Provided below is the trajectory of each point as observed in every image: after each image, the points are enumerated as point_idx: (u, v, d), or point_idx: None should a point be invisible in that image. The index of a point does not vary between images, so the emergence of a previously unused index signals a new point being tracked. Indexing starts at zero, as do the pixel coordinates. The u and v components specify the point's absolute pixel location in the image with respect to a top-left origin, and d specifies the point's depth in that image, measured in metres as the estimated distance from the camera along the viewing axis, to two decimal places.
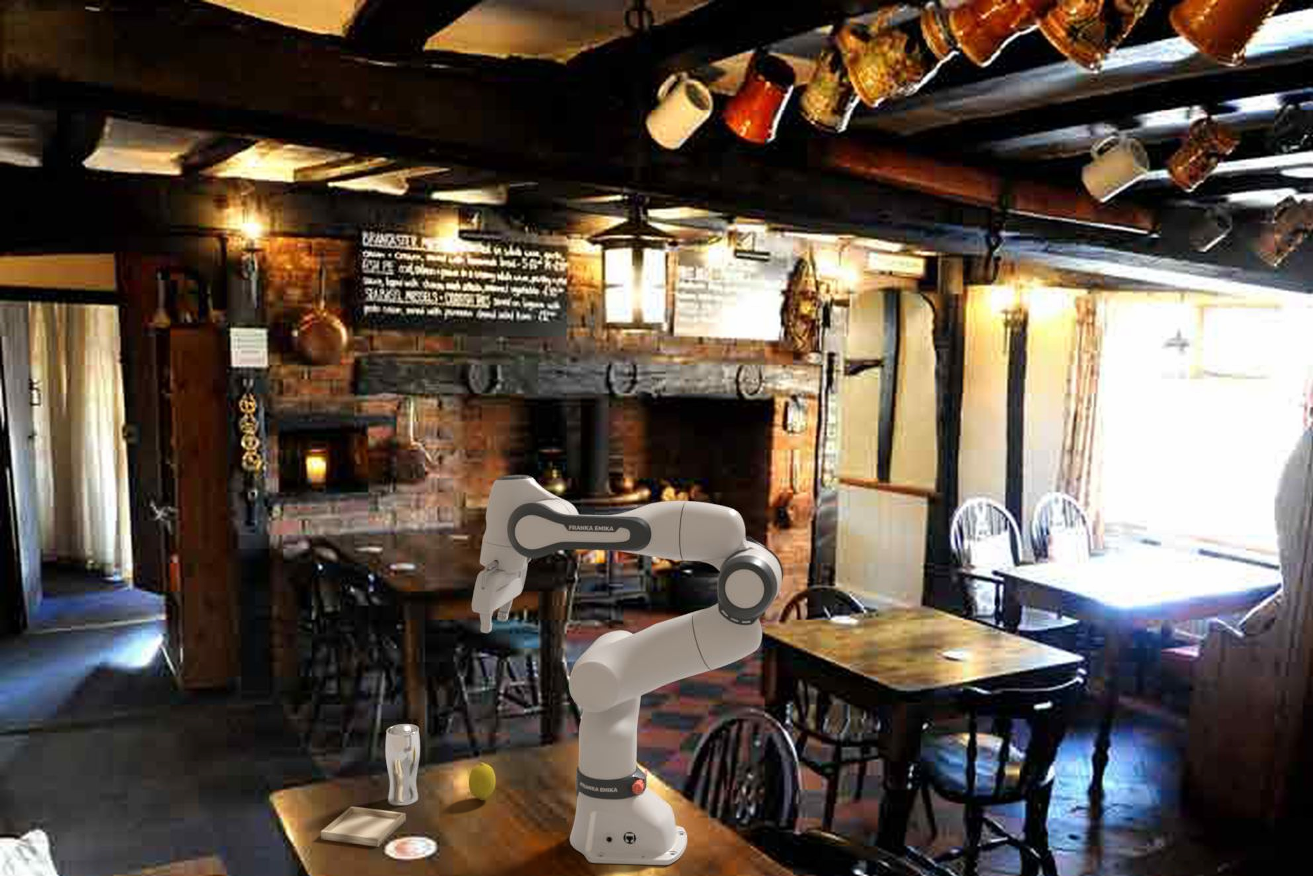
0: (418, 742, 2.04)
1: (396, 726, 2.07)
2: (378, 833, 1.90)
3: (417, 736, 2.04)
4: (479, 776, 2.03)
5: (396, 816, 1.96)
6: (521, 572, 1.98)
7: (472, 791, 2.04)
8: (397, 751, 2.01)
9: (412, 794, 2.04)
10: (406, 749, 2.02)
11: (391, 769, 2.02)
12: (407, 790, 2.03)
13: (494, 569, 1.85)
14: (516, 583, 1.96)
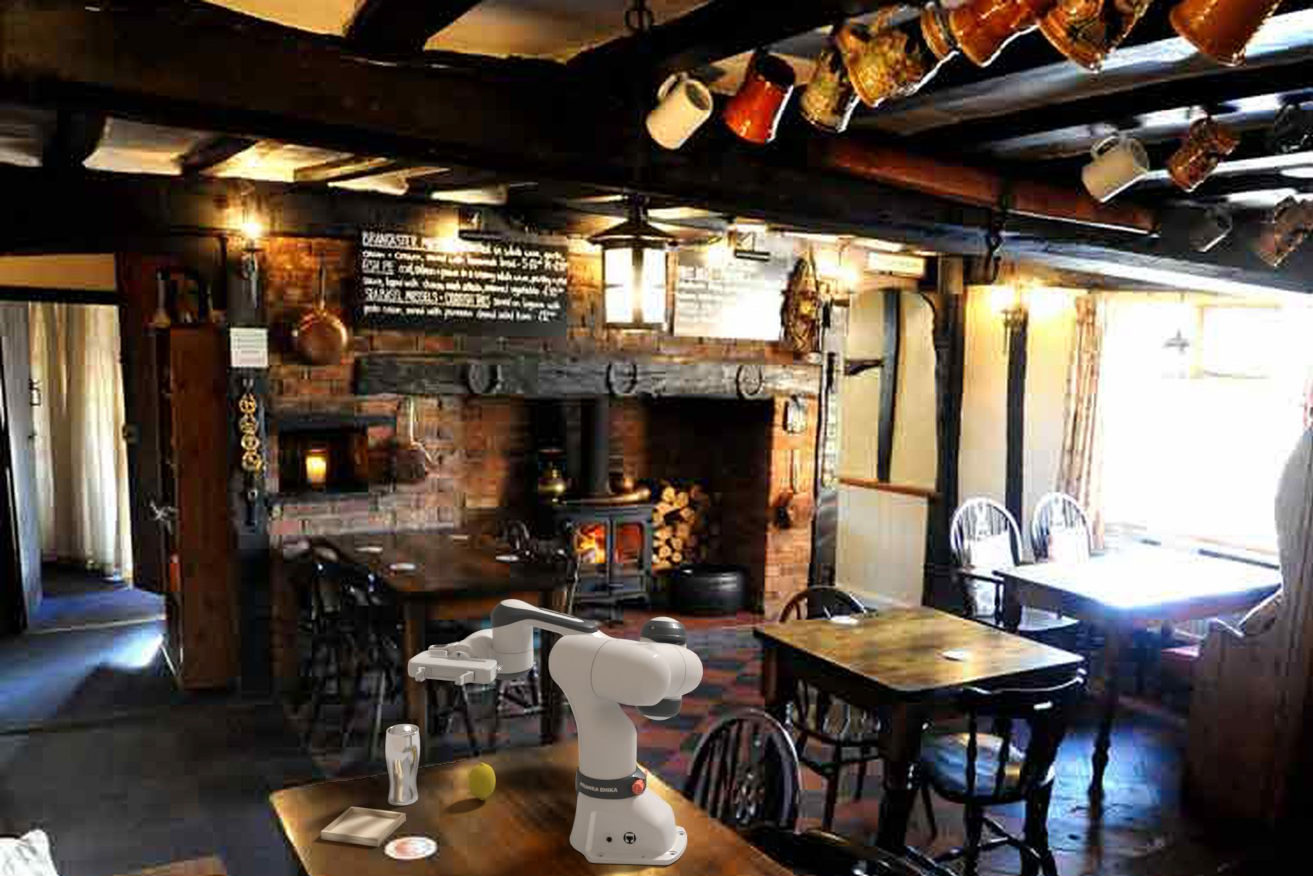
0: (418, 742, 2.04)
1: (396, 726, 2.07)
2: (378, 833, 1.90)
3: (417, 736, 2.04)
4: (479, 776, 2.03)
5: (396, 816, 1.96)
6: None
7: (472, 791, 2.04)
8: (397, 751, 2.01)
9: (412, 794, 2.04)
10: (406, 749, 2.02)
11: (391, 769, 2.02)
12: (407, 790, 2.03)
13: None
14: None
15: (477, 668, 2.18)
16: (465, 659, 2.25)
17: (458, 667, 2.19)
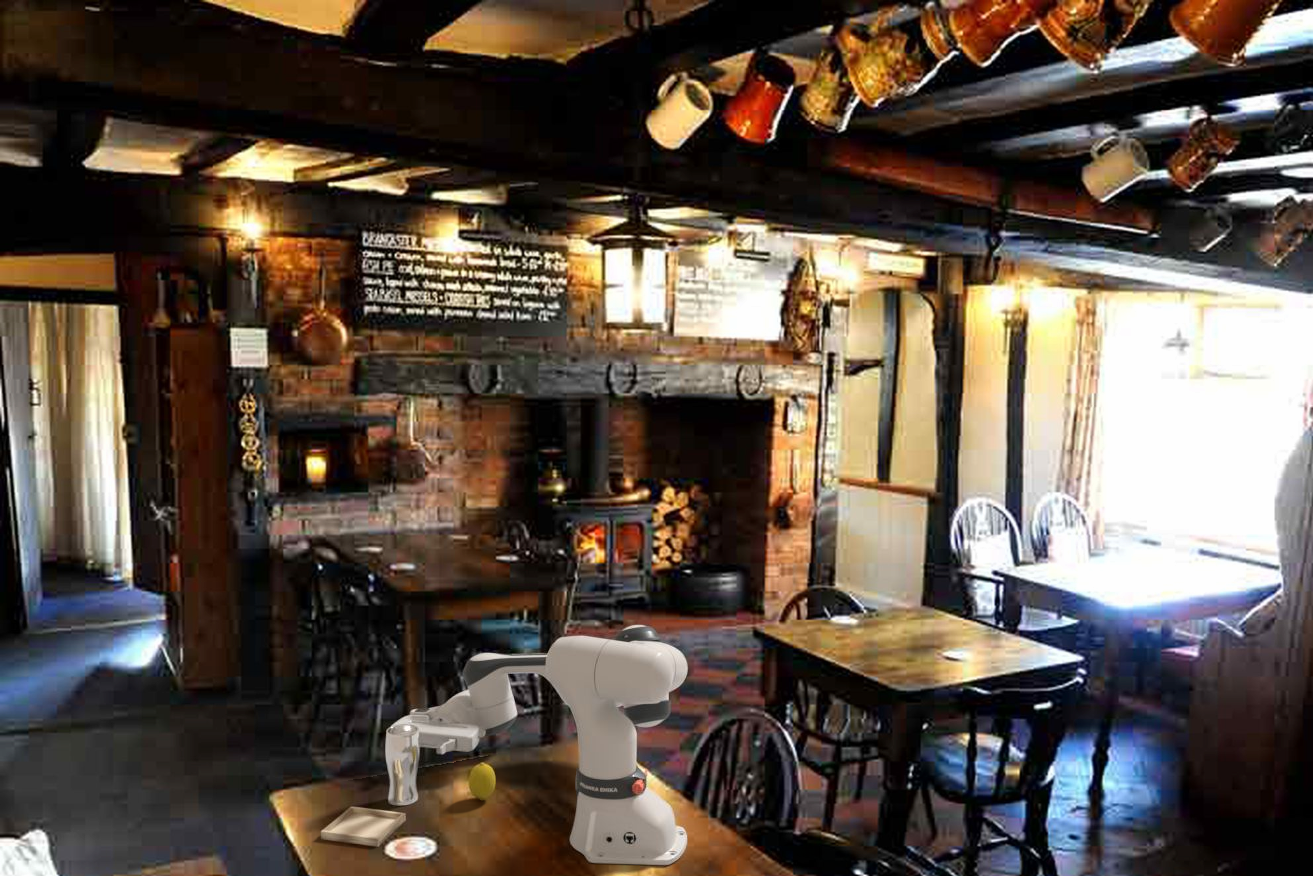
0: (418, 742, 2.04)
1: (396, 726, 2.07)
2: (378, 833, 1.90)
3: (417, 736, 2.04)
4: (479, 776, 2.03)
5: (396, 816, 1.96)
6: None
7: (472, 791, 2.04)
8: (397, 751, 2.01)
9: (412, 794, 2.04)
10: (406, 749, 2.02)
11: (391, 769, 2.02)
12: (407, 790, 2.03)
13: None
14: None
15: (459, 736, 2.16)
16: (447, 725, 2.22)
17: (439, 735, 2.17)
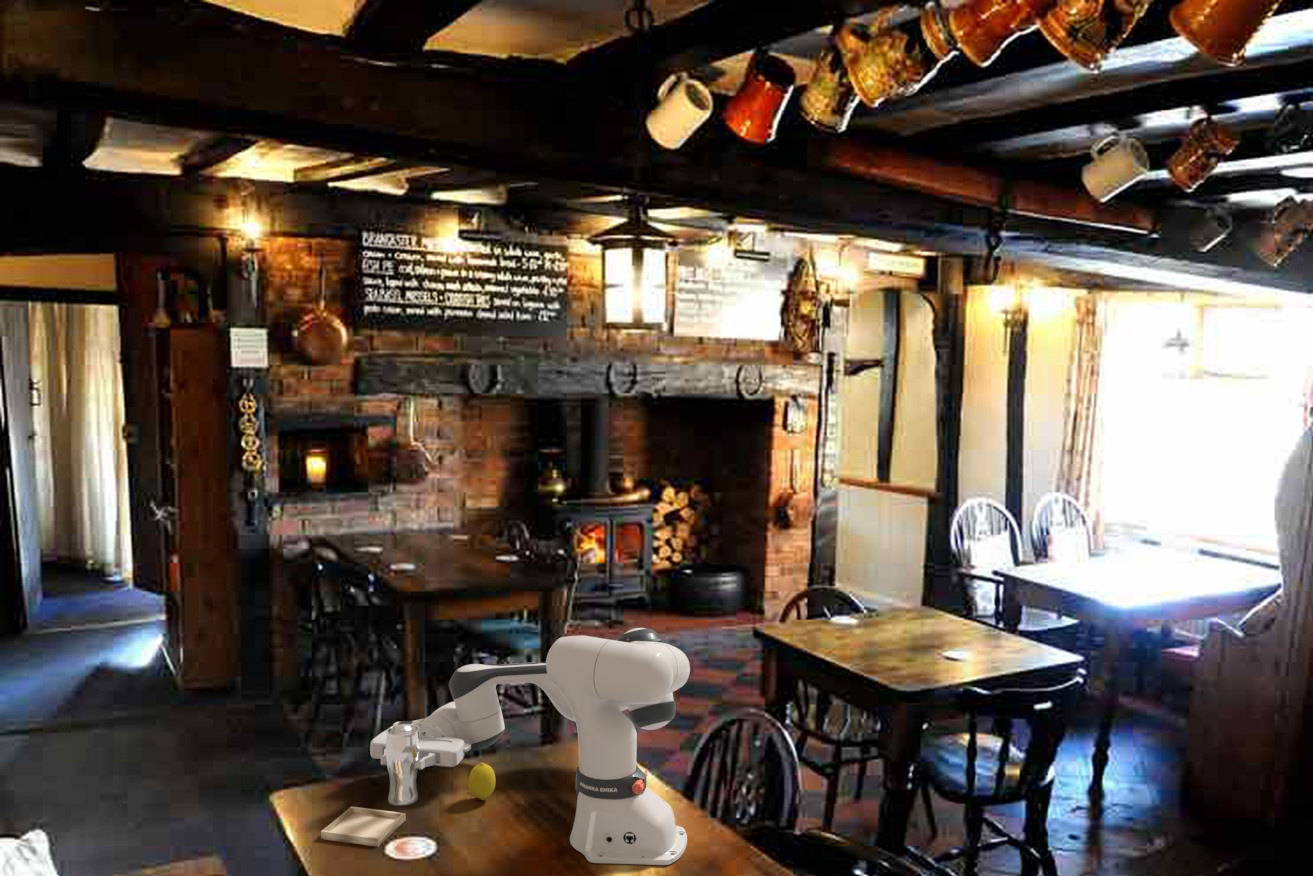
0: (418, 742, 2.04)
1: (396, 726, 2.07)
2: (378, 833, 1.90)
3: (417, 736, 2.04)
4: (479, 776, 2.03)
5: (396, 816, 1.96)
6: None
7: (472, 791, 2.04)
8: (397, 751, 2.01)
9: (412, 794, 2.04)
10: (406, 749, 2.02)
11: (391, 769, 2.02)
12: (407, 790, 2.03)
13: None
14: None
15: (442, 750, 2.07)
16: (431, 738, 2.13)
17: (422, 749, 2.08)
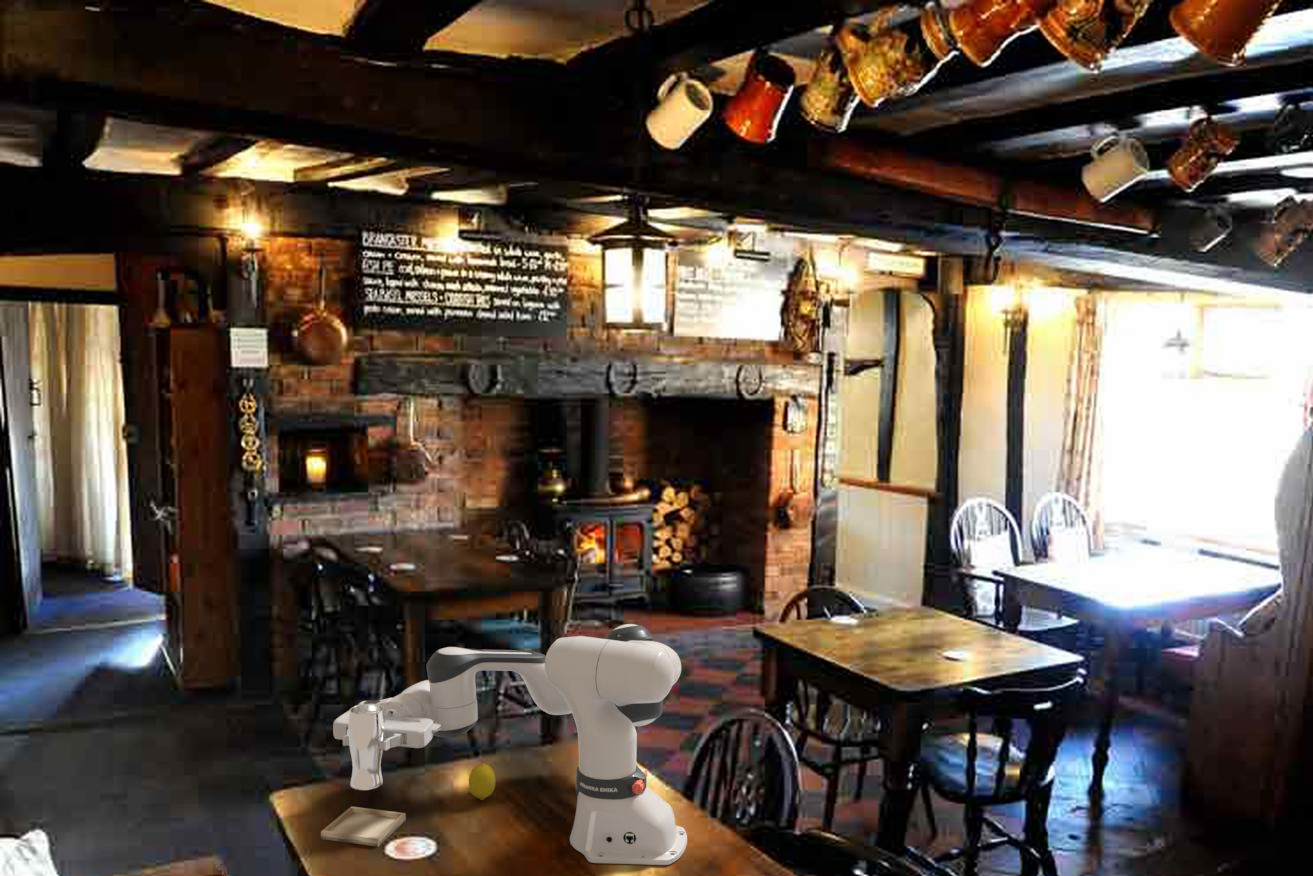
0: (383, 722, 1.92)
1: (360, 705, 1.94)
2: (378, 833, 1.90)
3: (382, 716, 1.91)
4: (479, 776, 2.03)
5: (396, 816, 1.96)
6: None
7: (472, 791, 2.04)
8: (360, 731, 1.89)
9: (376, 778, 1.91)
10: (370, 729, 1.89)
11: (354, 751, 1.90)
12: (370, 774, 1.91)
13: None
14: None
15: (409, 730, 1.94)
16: (398, 718, 2.01)
17: (388, 729, 1.95)
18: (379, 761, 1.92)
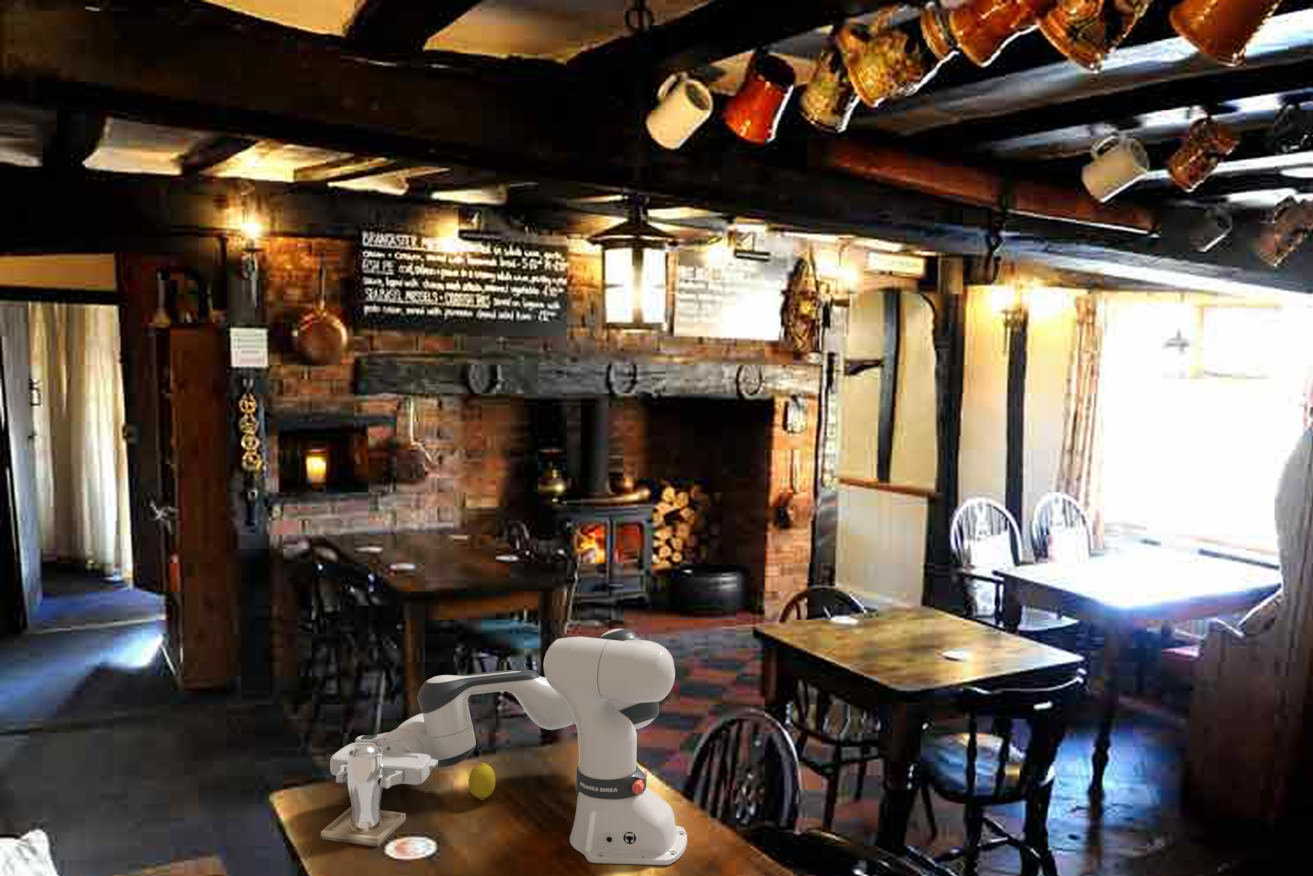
0: (382, 765, 1.91)
1: (359, 747, 1.94)
2: (378, 833, 1.90)
3: (381, 758, 1.91)
4: (479, 776, 2.03)
5: (396, 816, 1.96)
6: None
7: (472, 791, 2.04)
8: (359, 775, 1.88)
9: (375, 821, 1.91)
10: (368, 773, 1.88)
11: (352, 794, 1.89)
12: (370, 817, 1.90)
13: None
14: None
15: (407, 767, 1.94)
16: (395, 754, 2.00)
17: (385, 766, 1.95)
18: (378, 804, 1.91)
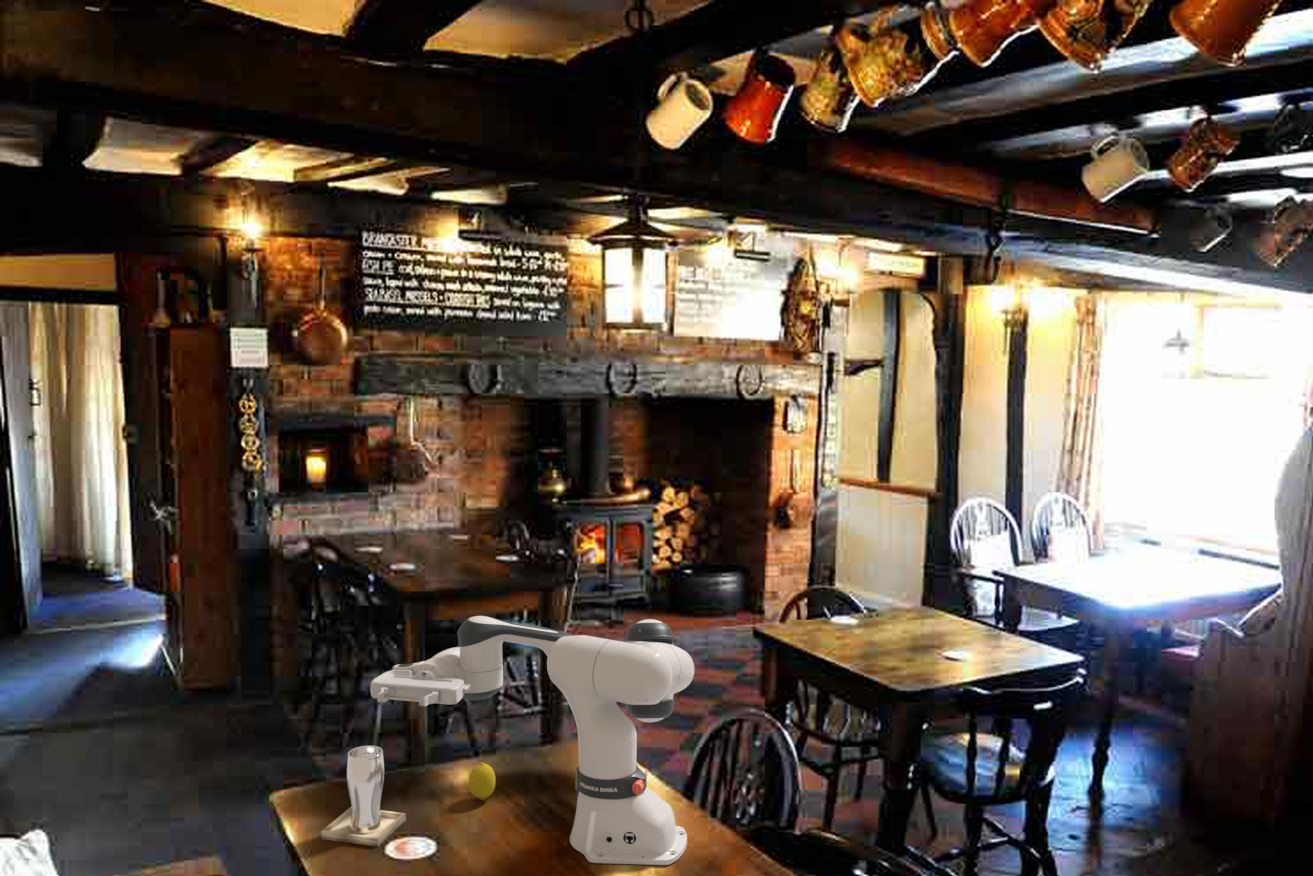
0: (382, 765, 1.91)
1: (359, 748, 1.93)
2: (378, 833, 1.90)
3: (381, 759, 1.91)
4: (479, 776, 2.03)
5: (396, 816, 1.96)
6: None
7: (472, 791, 2.04)
8: (359, 775, 1.88)
9: (375, 821, 1.91)
10: (368, 773, 1.88)
11: (352, 794, 1.89)
12: (370, 817, 1.90)
13: None
14: None
15: (442, 688, 2.09)
16: (431, 679, 2.15)
17: (423, 687, 2.10)
18: (378, 804, 1.91)
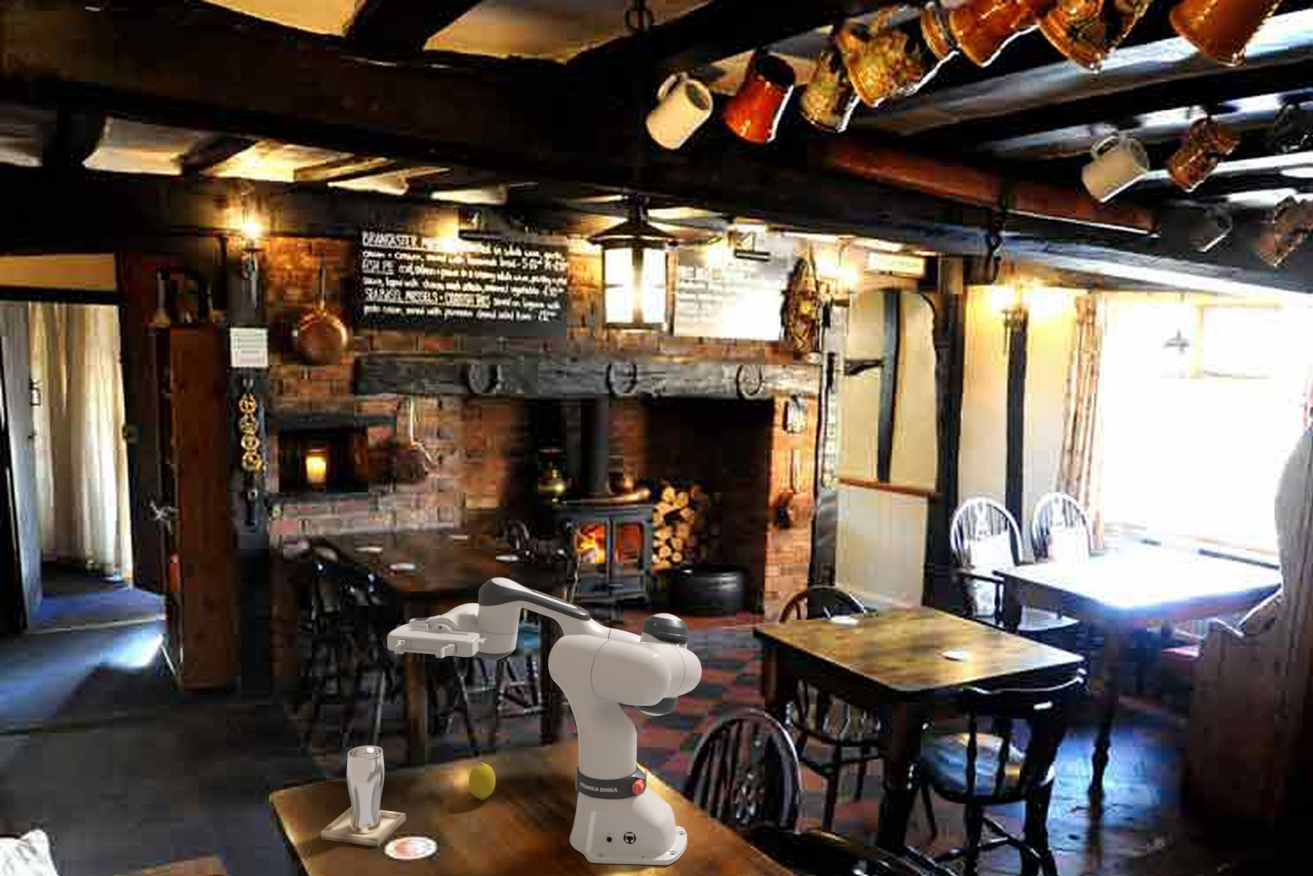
0: (382, 765, 1.91)
1: (359, 748, 1.93)
2: (378, 833, 1.90)
3: (381, 759, 1.91)
4: (479, 776, 2.03)
5: (396, 816, 1.96)
6: None
7: (472, 791, 2.04)
8: (359, 775, 1.88)
9: (375, 821, 1.91)
10: (368, 773, 1.88)
11: (352, 794, 1.89)
12: (370, 817, 1.90)
13: None
14: None
15: (459, 640, 2.11)
16: (447, 632, 2.17)
17: (439, 640, 2.12)
18: (378, 804, 1.91)
